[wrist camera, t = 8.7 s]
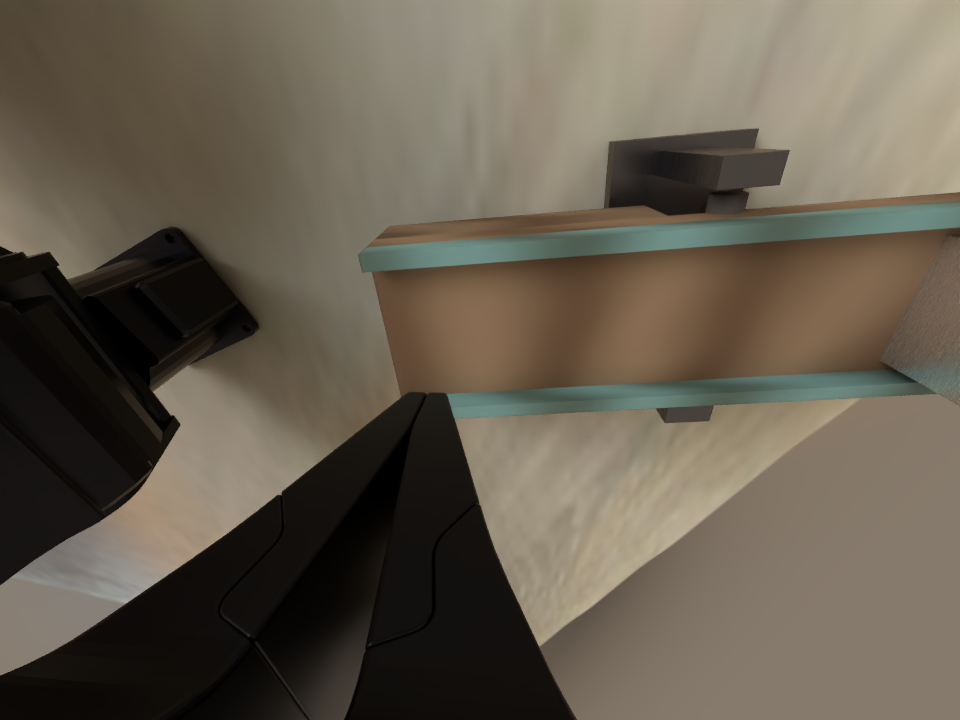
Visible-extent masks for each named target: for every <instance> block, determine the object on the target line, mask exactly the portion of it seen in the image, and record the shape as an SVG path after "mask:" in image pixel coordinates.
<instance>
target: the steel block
mask: <svg viewBox="0 0 960 720" xmlns="http://www.w3.org/2000/svg"><path fill="white" fill-rule="evenodd" d="M880 361H881V362H883V363H885V364H887V365H889V366H890V367H892V368H894V369H896V370H897V371H899V372H901V373H903V374H904V375H906V376H908V377H910V378H911V379H913V380H915V381H917V382H918V383H920V384H922V385H924V386H925V387H927V388H929V389H931V390H932V391H934V392H936V393H938V394H939V395H941V396H943V397H945V398H946V399H948V400H950V401H952V402H953V403H955V404H957V405H959V406H960V234H954V235H946V237H945V239H944V241H943V242H942V244H941V246H940V248H939V250H938V252H937V254H936V256H935V257H934V259H933V261H932V263H931V265H930V267H929V269H928V271H927V272H926V274H925V276H924V278H923V280H922V282H921V284H920V286H919V287H918V289H917V291H916V293H915V295H914V297H913V299H912V301H911V302H910V304H909V306H908V308H907V310H906V312H905V314H904V316H903V317H902V319H901V321H900V323H899V325H898V327H897V329H896V331H895V332H894V334H893V336H892V338H891V340H890V342H889V344H888V345H887V347H886V349H885V351H884V353H883V355H882V357H881V359H880Z"/></svg>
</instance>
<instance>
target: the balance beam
mask: <svg viewBox="0 0 960 720" xmlns="http://www.w3.org/2000/svg"><path fill="white" fill-rule="evenodd" d="M748 195H749V193H748V192H742V191H719V192H712V193H710V194H709V198H708V203H707V207H706V212H705V213H698V214H685V215H673V216H667V215H665V214H663V213H661V212H658V211H656V210H654V209H651V208H649V207H647V206H645V205H641V206H629V207H616V208H604V209H592V210H580V211H568V212H556V213H544V214H531V215H519V216H507V217H495V218H483V219H471V220H459V221H447V222H434V223H422V224H410V225H398V226H389V227H388V228H387V229H386V230H385V231H384V232H383V233H382V234H381V235H379V236H378V237H377V238H376V239H375V240H374V241H373V242H372V243H371V244H370V245H368V246H367V247H366V248H365V249H364V250H363V251H362V252H361V253H360V254H358V257H359V261H360V265H361V269H362V272H372V274H373V278H374V282H375V287H376V291H377V295H378V299H379V304H380V308H381V312H382V316H383V321H384V325H385V329H386V334H387V338H388V342H389V346H390V351H391V355H392V359H393V364H394V368H395V372H396V376H397V381H398V385H399V389H400V394H401V397H402V396H404V395H405V394H406V393H408V392H426V393H427V394H428V393H430V392H442V393H446V394H447V396H448V399H449V402H450V406H451V409H452V412H453V416H454V419H457V418H477V417H496V416H515V415H535V414H554V413H574V412H593V411H612V410H632V409H651V408H670V407H690V406H709V405H729V404H748V403H767V402H787V401H806V400H825V399H845V398H864V397H883V396H903V395H921V394H938V393H936V392H934V391H932V390H931V389H929V388H927V387H925V386H924V385H922V384H920V383H918V382H917V381H915V380H913V379H911V378H910V377H908V376H906V375H904V374H903V373H901V372H899V371H897V370H896V369H894V368H892V367H890V366H889V365H887V364H885V363H883V362H881V361H880V359H881V357H882V355H883V353H884V351H885V349H886V347H887V345H888V344H889V342H890V340H891V338H892V336H893V334H894V332H895V331H896V329H897V327H898V325H899V323H900V321H901V319H902V317H903V316H904V314H905V312H906V310H907V308H908V306H909V304H910V302H911V301H912V299H913V297H914V295H915V293H916V291H917V289H918V287H919V286H920V284H921V282H922V280H923V278H924V276H925V274H926V272H927V271H928V269H929V267H930V265H931V263H932V261H933V259H934V257H935V256H936V254H937V252H938V250H939V248H940V246H941V244H942V242H943V241H944V239H945V237H946V235H954V234H960V192H958V193H946V194H934V195H921V196H909V197H896V198H884V199H872V200H859V201H847V202H834V203H822V204H809V205H797V206H785V207H772V208H760V209H747V210H745V206H746V203H747V199H748Z"/></svg>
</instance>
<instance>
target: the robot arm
mask: <svg viewBox="0 0 960 720" xmlns="http://www.w3.org/2000/svg"><path fill="white" fill-rule="evenodd" d="M170 234H171V235H173V236H174V238H175V241H174V240H173V239H172V238H171V236H170ZM57 266H59V264H58V263H57V261H56V260H55V259H54V257H53V256H52V255H51V253H50V252H46V253H41V254H36V255H31V256H26V255H25V254H24V252H19V253H17V252H15V253H13V252H11V251H9V250H7V249H5V248H3V247H1V246H0V585H1V584H2V583H4V582H5V581H6V580H8V579H9V578H10V577H12V576H13V575H14V574H16V573H17V572H18V571H20V570H21V569H23V568H24V567H25V566H27V565H28V564H29V563H31V562H32V561H34V560H35V559H37V558H38V557H40V556H41V555H43V554H44V553H46V552H47V551H49V550H51V549H52V548H54V547H55V546H57V545H58V544H60V543H62V542H63V541H65V540H66V539H68V538H70V537H72V536H74V535H76V534H77V533H79V532H81V531H83V530H85V529H87V528H89V527H91V526H93V525H94V524H96V523H98V522H100V521H101V520H103V519H104V518H106V517H107V516H108V515H110V514H111V513H113V512H114V511H116V510H117V509H119V508H120V507H121V506H122V505H123V504H125V503H126V502H127V501H128V500H130V499H131V498H132V497H133V496H134V495H135V494H136V493H137V492H138V491H139V490H140V488H141V487H142V486H143V484H144V483H145V482H146V480H147V478H148V477H149V475H150V474H151V472H152V470H153V469H154V467H155V466H156V464H157V462H158V461H159V459H160V457H161V456H162V454H163V453H164V451H165V449H166V448H167V446H168V444H169V443H170V441H171V440H172V438H173V436H174V435H175V433H176V431H177V430H178V428H179V427H180V423H179V422H178V420H177V419H176V418H175V416H174V415H172V416H171V415H170V414H169V412H168V411H167V410H166V408H165V407H164V406H163V404H162V403H161V402H160V401H159V399H158V398H157V397H156V395H155V394H154V393H153V391H154V390H156V389H157V388H158V387H160V386H161V385H162V384H164V383H165V382H166V381H168V380H169V379H170V378H172V377H173V376H174V375H176V374H177V373H178V372H180V371H181V370H182V369H184V368H185V367H186V366H188V365H190V364H192V363H194V362H196V361H198V360H200V359H203V358H205V357H207V356H209V355H211V354H213V353H215V352H217V351H219V350H222V349H224V348H226V347H228V346H230V345H232V344H234V343H236V342H238V341H241V340H243V339H245V338H247V337H249V336H251V335H253V334H254V333H255V332H256V331H258V329H259V326H258V323H257V322H256V320H255V319H254V318H253V317H252V316H251V314H250V313H249V312H248V311H247V310H246V308H245V307H244V306H243V305H242V304H241V302H240V301H239V300H238V299H237V298H236V296H235V295H234V294H233V293H232V291H231V290H230V289H229V288H228V287H227V285H226V284H225V283H224V282H223V281H222V279H221V278H220V277H219V276H218V275H217V273H216V272H215V271H214V270H213V269H212V267H211V266H210V265H209V264H208V263H207V261H206V260H205V259H204V258H203V257H202V255H201V254H200V253H199V252H198V251H197V249H196V248H195V247H194V246H193V244H192V243H191V242H190V241H189V240H188V238H187V237H186V236H185V235H184V234H183V232H181V231H180V230H179V229H177V228H175V227H168V228H165V229H162V230H160V231H158V232H157V233H155V234H153V235H152V236H150V237H148V238H147V239H145V240H143V241H142V242H140V243H138V244H137V245H135V246H133V247H132V248H130V249H128V250H127V251H125V252H123V253H122V254H120V255H119V256H117V257H115V258H114V259H112V260H110V261H109V262H107V263H105V264H104V265H102V266H100V267H99V268H97V269H95V270H94V271H92V272H89V273H86V274H83V275H80V276H77V277H74V278H71V279H68V280H67V279H66V278H65V277H64V275H63V274H62V273H61V271H60V270H59V269H58V267H57ZM245 324H247V325H249V326H250V328H251V329H250V328H248V327H247V326H246V325H245ZM281 495H282V496H281ZM281 495H277V496H276V497H274V498H273V499H272V500H271V501H269V502H268V503H267V504H266V505H264V506H263V507H262V508H260V509H259V510H258V511H257V512H255V513H254V514H253V515H251V516H250V517H249V518H247V519H246V520H245V521H243V522H242V523H241V524H239V525H238V526H237V527H236V528H234V529H233V530H232V531H230V532H229V533H228V534H226V535H225V536H223V537H222V538H220V539H219V540H218V541H216V542H215V543H213V544H212V545H211V546H209V547H208V548H206V549H205V550H203V551H202V552H201V553H199V554H198V555H196V556H195V557H194V558H192V559H191V560H189V561H188V562H186V563H185V564H183V565H182V566H181V567H179V568H178V569H176V570H175V571H173V572H172V573H170V574H169V575H167V576H166V577H164V578H163V579H162V580H160V581H159V582H157V583H156V584H154V585H153V586H151V587H150V588H148V589H147V590H145V591H144V592H143V593H141V594H140V595H138V596H137V597H135V598H134V599H132V600H131V601H129V602H128V603H126V604H125V605H124V606H122V607H121V608H119V609H118V610H116V611H115V612H113V613H112V614H110V615H109V616H108V617H106V618H105V619H103V620H102V621H100V622H99V623H97V624H96V625H94V626H93V627H91V628H90V629H88V630H87V631H85V632H84V633H82V634H81V635H79V636H77V637H76V638H74V639H73V640H71V641H69V642H68V643H66V644H64V645H63V646H61V647H59V648H58V649H56V650H54V651H52V652H50V653H49V654H46V655H45V656H42V657H41V658H39V659H37V660H35V661H33V662H31V663H29V664H27V665H24V666H22V667H20V668H17V669H15V670H12V671H10V672H8V673H5V674H3V675H1V676H0V720H577V719H576V717H575V716H574V714H573V712H572V710H571V709H570V707H569V705H568V703H567V702H566V700H565V698H564V696H563V694H562V692H561V691H560V688H559V687H558V685H557V683H556V681H555V679H554V677H553V675H552V673H551V671H550V669H549V667H548V665H547V663H546V661H545V659H544V656H543V654H542V652H541V650H540V648H539V646H538V644H537V641H536V639H535V637H534V635H533V633H532V631H531V629H530V626H529V624H528V622H527V620H526V618H525V616H524V614H523V611H522V609H521V607H520V605H519V603H518V601H517V599H516V597H515V594H514V592H513V590H512V588H511V586H510V584H509V582H508V579H507V577H506V575H505V572H504V570H503V568H502V565H501V563H500V560H499V558H498V556H497V553H496V551H495V549H494V546H493V543H492V540H491V537H490V534H489V531H488V528H487V525H486V522H485V519H484V515H483V512H482V509H481V506H480V505H479V499H478V496H477V493H476V489H475V486H474V483H473V479H472V476H471V473H470V469H469V466H468V462H467V459H466V456H465V452H464V449H463V446H462V442H461V439H460V436H459V432H458V429H457V426H456V422H455V419H454V416H453V412H452V409H451V406H450V402H449V399H448V396H447V394H446V393H442V392H430V393H428V394H427V393H426V392H408V393H406V394H405V395H404V396H402V397H401V398H400V399H399V400H397V401H396V402H395V403H394V404H392V405H391V406H390V407H389V408H387V409H386V410H385V411H383V412H382V413H381V414H380V415H378V416H377V417H376V418H375V419H373V420H372V421H371V422H370V423H368V424H367V425H366V426H364V427H363V428H362V429H361V430H359V431H358V432H357V433H356V434H354V435H353V436H352V437H351V438H349V439H348V440H347V441H346V442H344V443H343V444H342V445H340V446H339V447H338V448H337V449H335V450H334V451H333V452H332V453H330V454H329V455H328V456H327V457H325V458H324V459H323V460H321V461H320V462H319V463H318V464H316V465H315V466H314V467H313V468H311V469H310V470H309V471H308V472H306V473H305V474H304V475H302V476H301V477H300V478H299V479H297V480H296V481H295V482H294V483H292V484H291V485H290V486H289V487H287V488H286V489H285V490H283V491H282V493H281Z"/></svg>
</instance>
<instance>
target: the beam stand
mask: <svg viewBox="0 0 960 720" xmlns="http://www.w3.org/2000/svg"><path fill="white" fill-rule="evenodd" d="M758 130H759V129H741V130H730V131H719V132H708V133H697V134H687V135H676V136H665V137H654V138H643V139H633V140H622V141H611V142H609V153H608V165H607V178H606V190H605V202H604V208H616V207H629V206H641V205H645V206H647V207H649V208H651V209H654V210H656V211H658V212H661V213H663V214H665V215H667V216H673V215H685V214H698V213H705V212H706V207H707V203H708V198H709V194H710V193H712V192H719V191H742V192H743V189H744V188H749V187H761V186H773V185H780V181H781V178H782V175H783V171H784V168H785V165H786V161H787V158H788V155H789V151H790V150H776V149H754V145H755V142H756V138H757V134H758ZM713 406H714V405H709V406H690V407H670V408H656V409H657V411H658V413H659V414H660V416H661V418H662V419H663V421H664V422H665V423H677V422H699V421H709V420H710V416H711V413H712V410H713Z"/></svg>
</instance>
